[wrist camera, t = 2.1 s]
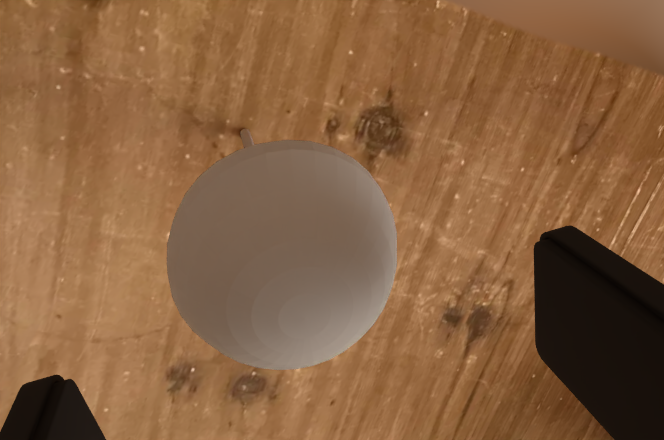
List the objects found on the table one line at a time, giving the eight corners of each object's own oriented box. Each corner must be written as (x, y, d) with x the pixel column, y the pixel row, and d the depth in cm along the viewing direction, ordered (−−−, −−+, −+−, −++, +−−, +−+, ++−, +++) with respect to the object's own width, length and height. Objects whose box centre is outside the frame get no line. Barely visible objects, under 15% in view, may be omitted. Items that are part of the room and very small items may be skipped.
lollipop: (206, 43, 22) (222, 137, 9) (327, 95, 24) (484, 232, 11) (161, 172, 24) (121, 407, 11) (278, 209, 26) (363, 444, 13)
